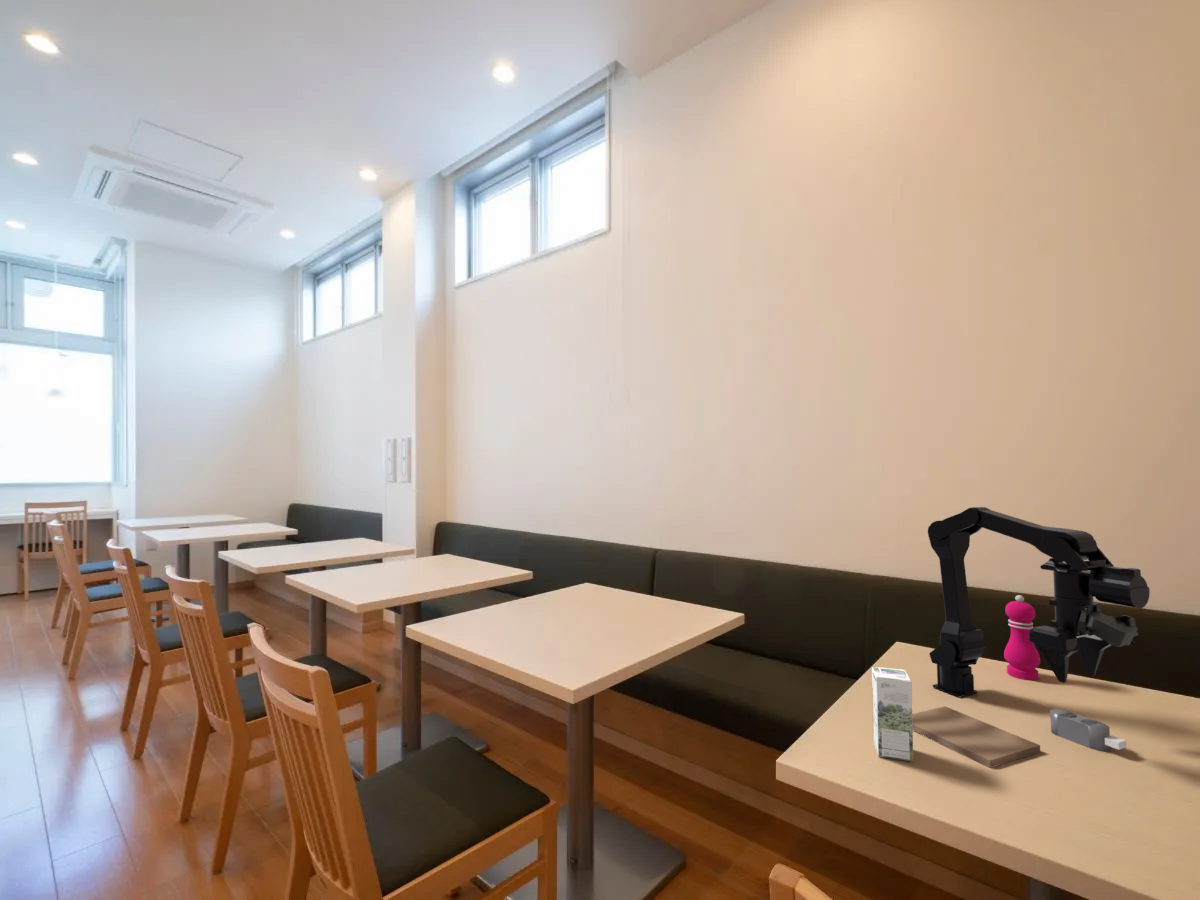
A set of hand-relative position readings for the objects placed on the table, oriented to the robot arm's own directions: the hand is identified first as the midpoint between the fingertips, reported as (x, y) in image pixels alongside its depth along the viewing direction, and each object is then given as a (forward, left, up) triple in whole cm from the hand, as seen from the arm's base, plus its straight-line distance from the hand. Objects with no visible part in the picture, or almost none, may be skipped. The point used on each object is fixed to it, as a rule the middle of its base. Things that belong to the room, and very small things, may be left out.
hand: (1076, 678), depth 104 cm
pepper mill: (-25, +26, -12) cm, 38 cm away
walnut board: (-9, -19, -11) cm, 24 cm away
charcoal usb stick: (0, 0, -12) cm, 12 cm away
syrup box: (-10, -37, -12) cm, 40 cm away
